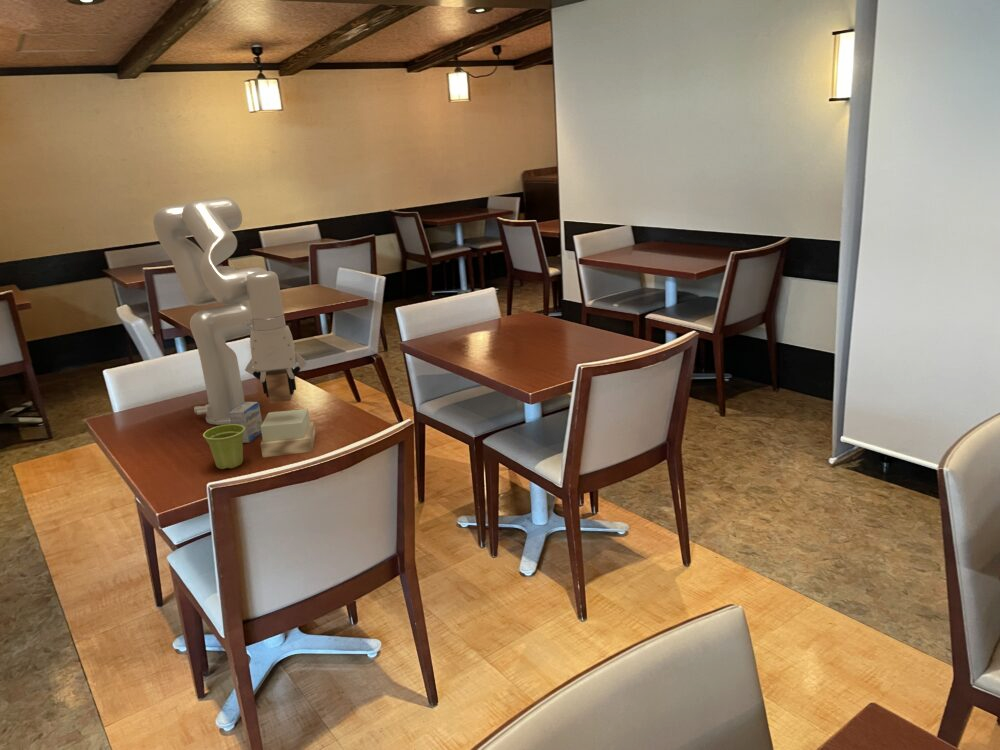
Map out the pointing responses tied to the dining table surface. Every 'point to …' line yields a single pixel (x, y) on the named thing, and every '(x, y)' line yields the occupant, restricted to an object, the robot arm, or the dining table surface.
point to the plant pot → (226, 445)
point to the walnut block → (278, 386)
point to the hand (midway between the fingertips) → (280, 393)
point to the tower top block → (285, 425)
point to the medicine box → (247, 420)
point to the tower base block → (290, 444)
